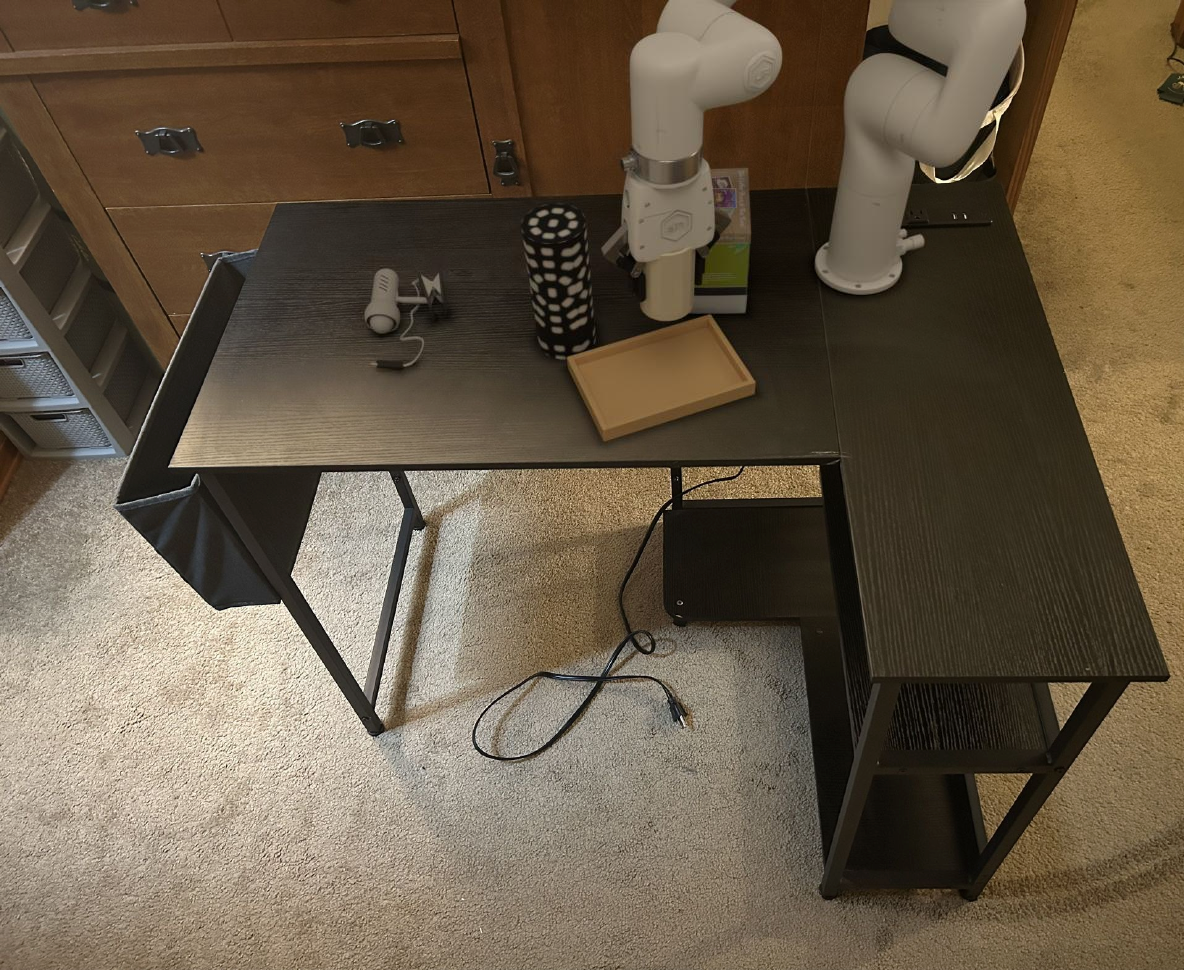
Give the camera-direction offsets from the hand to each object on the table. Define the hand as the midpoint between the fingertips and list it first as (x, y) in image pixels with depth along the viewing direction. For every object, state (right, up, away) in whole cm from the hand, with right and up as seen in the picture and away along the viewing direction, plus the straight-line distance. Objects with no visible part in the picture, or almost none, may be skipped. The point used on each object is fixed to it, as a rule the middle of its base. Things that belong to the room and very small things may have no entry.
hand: (666, 286), depth 113 cm
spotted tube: (-13, -4, +19) cm, 24 cm away
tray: (0, -10, +13) cm, 17 cm away
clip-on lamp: (-36, -2, +23) cm, 43 cm away
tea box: (+9, +6, +25) cm, 27 cm away
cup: (0, -2, +2) cm, 3 cm away
